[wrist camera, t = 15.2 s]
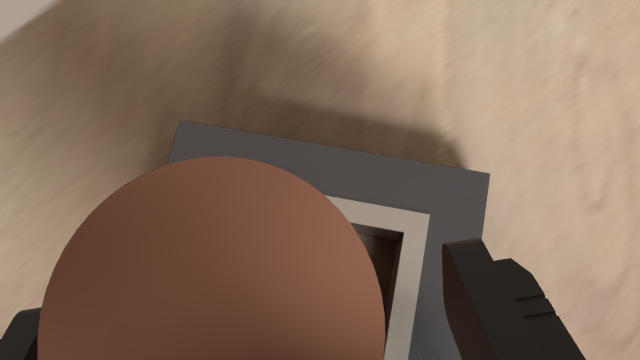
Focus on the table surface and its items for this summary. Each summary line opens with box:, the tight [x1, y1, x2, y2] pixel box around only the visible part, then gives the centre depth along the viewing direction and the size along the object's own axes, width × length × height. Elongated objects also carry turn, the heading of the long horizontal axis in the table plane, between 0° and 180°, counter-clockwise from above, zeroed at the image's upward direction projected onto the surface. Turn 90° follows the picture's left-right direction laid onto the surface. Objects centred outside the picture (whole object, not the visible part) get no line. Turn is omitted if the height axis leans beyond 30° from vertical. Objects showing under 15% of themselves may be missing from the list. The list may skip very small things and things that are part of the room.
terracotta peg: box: [38, 156, 385, 360], centre depth 14 cm, size 5×5×14 cm
